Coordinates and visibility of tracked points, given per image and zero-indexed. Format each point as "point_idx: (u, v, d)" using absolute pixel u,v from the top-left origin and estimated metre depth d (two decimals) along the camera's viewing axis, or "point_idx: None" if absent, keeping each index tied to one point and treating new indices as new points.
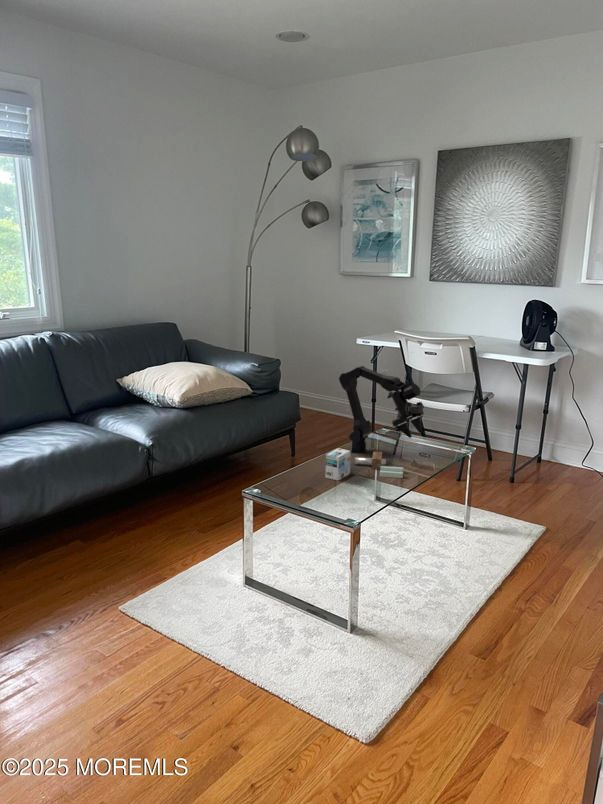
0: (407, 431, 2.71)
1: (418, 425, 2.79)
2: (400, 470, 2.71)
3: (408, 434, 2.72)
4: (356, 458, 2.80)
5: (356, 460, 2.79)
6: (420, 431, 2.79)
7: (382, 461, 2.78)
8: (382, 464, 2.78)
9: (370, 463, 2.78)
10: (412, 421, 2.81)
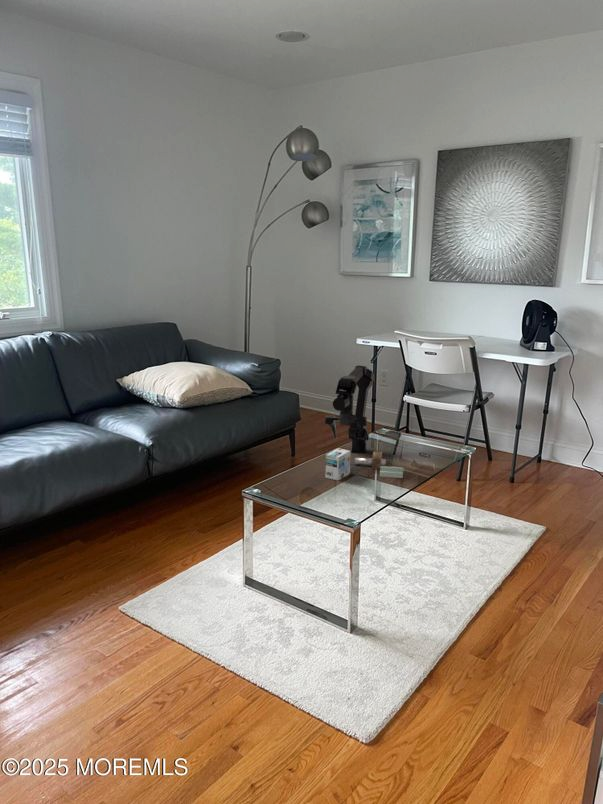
0: (333, 431, 2.79)
1: (356, 431, 2.77)
2: (400, 470, 2.71)
3: (334, 434, 2.79)
4: (356, 459, 2.79)
5: (356, 461, 2.79)
6: (355, 437, 2.78)
7: (382, 462, 2.77)
8: (382, 465, 2.77)
9: (370, 464, 2.78)
10: None
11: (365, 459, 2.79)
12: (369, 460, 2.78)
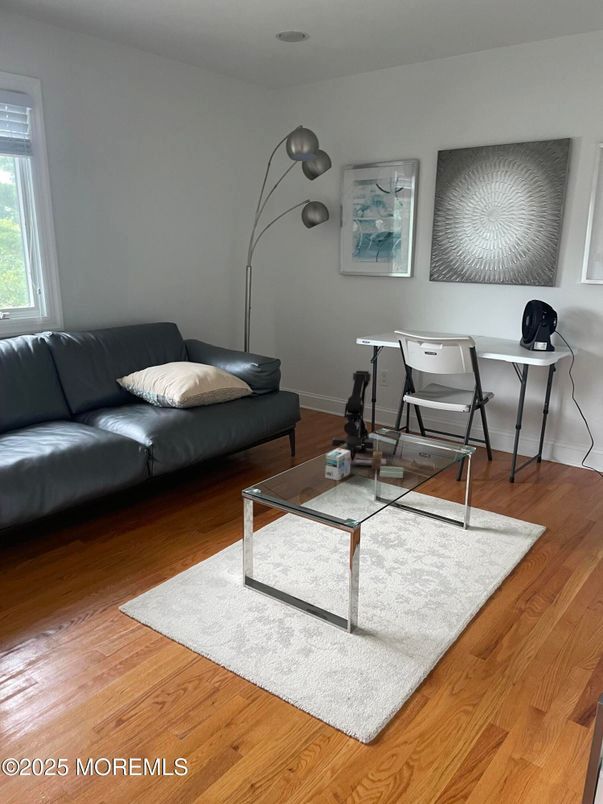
0: None
1: (353, 453, 2.80)
2: (400, 470, 2.71)
3: (350, 456, 2.81)
4: (356, 458, 2.80)
5: (356, 461, 2.79)
6: None
7: (382, 462, 2.77)
8: (382, 464, 2.77)
9: (370, 463, 2.78)
10: None
11: (365, 458, 2.79)
12: (369, 459, 2.79)
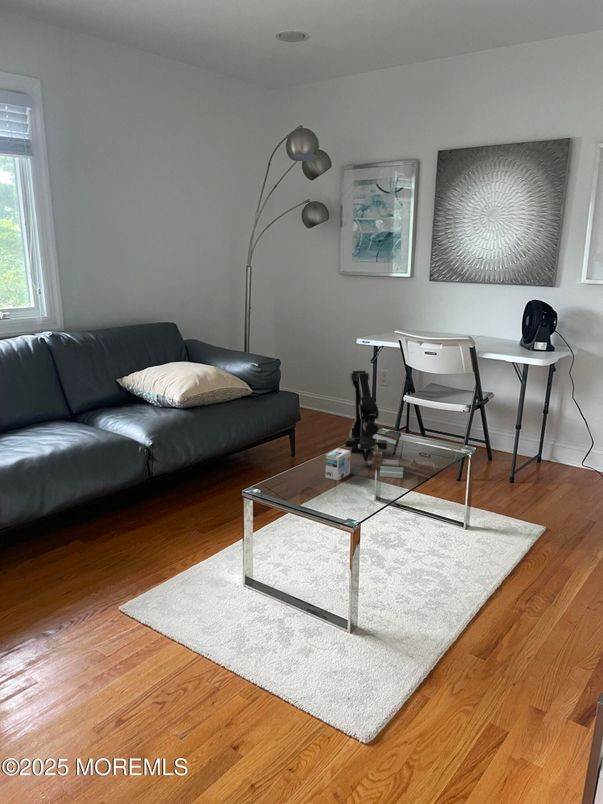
0: (363, 455, 2.79)
1: None
2: (400, 470, 2.71)
3: None
4: (369, 460, 2.79)
5: (369, 462, 2.78)
6: None
7: (395, 463, 2.76)
8: (395, 466, 2.76)
9: (383, 465, 2.77)
10: None
11: None
12: (382, 461, 2.78)
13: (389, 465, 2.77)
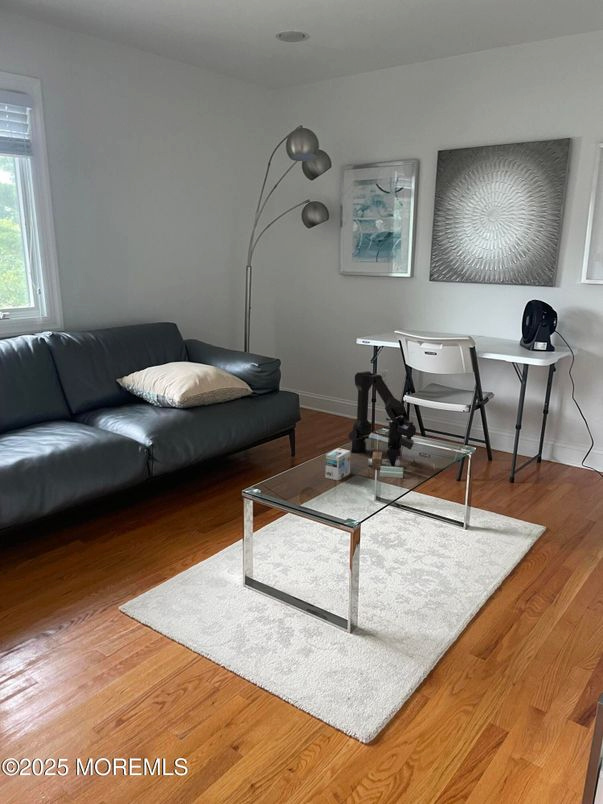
0: (394, 460, 2.74)
1: None
2: (400, 470, 2.71)
3: (393, 463, 2.75)
4: (369, 461, 2.78)
5: (369, 463, 2.78)
6: None
7: (396, 464, 2.76)
8: None
9: None
10: None
11: None
12: (383, 461, 2.77)
13: (389, 466, 2.77)
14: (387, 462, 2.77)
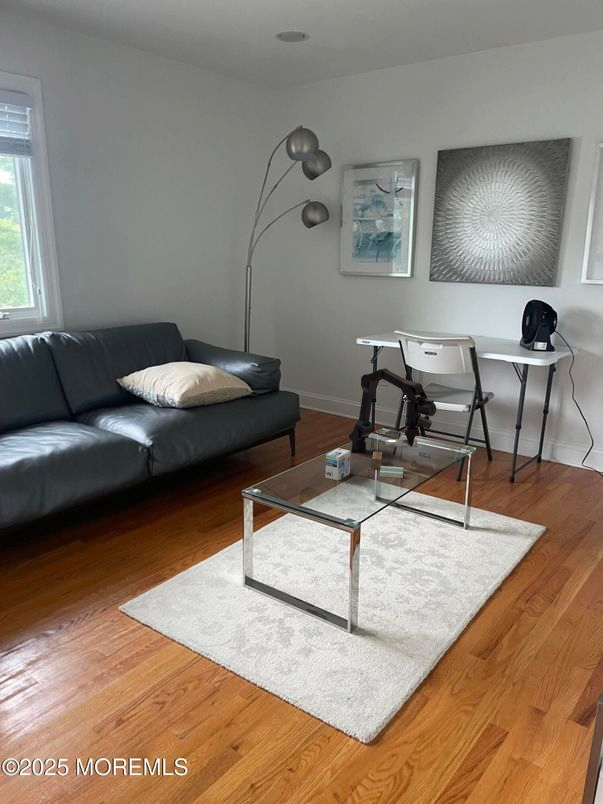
0: (412, 440, 2.70)
1: None
2: (400, 470, 2.71)
3: (411, 443, 2.71)
4: (386, 440, 2.75)
5: (387, 442, 2.74)
6: None
7: (413, 442, 2.72)
8: (413, 445, 2.72)
9: (401, 444, 2.73)
10: None
11: (396, 440, 2.74)
12: (400, 440, 2.74)
13: (407, 444, 2.73)
14: (404, 440, 2.73)
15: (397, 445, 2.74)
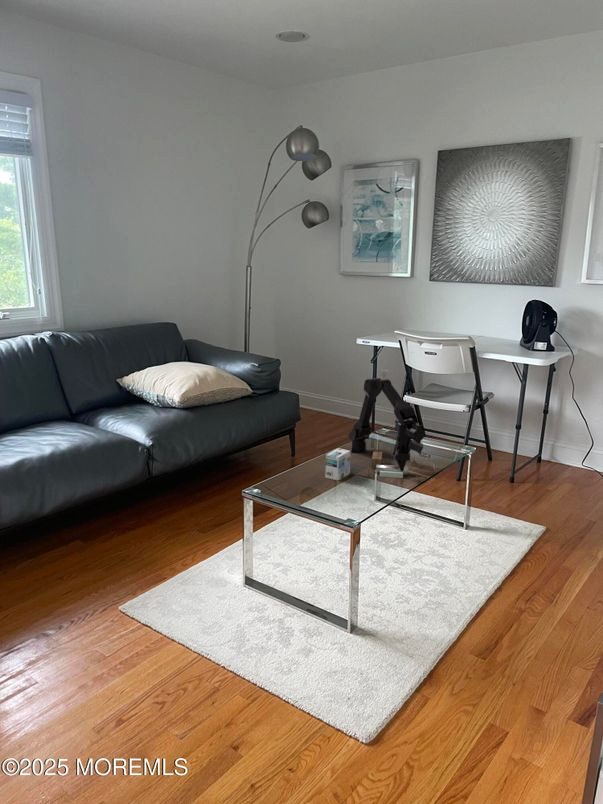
0: (403, 465, 2.64)
1: None
2: None
3: (402, 468, 2.64)
4: (378, 465, 2.69)
5: (378, 468, 2.69)
6: None
7: (405, 469, 2.67)
8: (405, 472, 2.67)
9: (392, 471, 2.68)
10: None
11: (387, 465, 2.69)
12: (391, 466, 2.68)
13: (398, 471, 2.67)
14: (396, 467, 2.68)
15: None
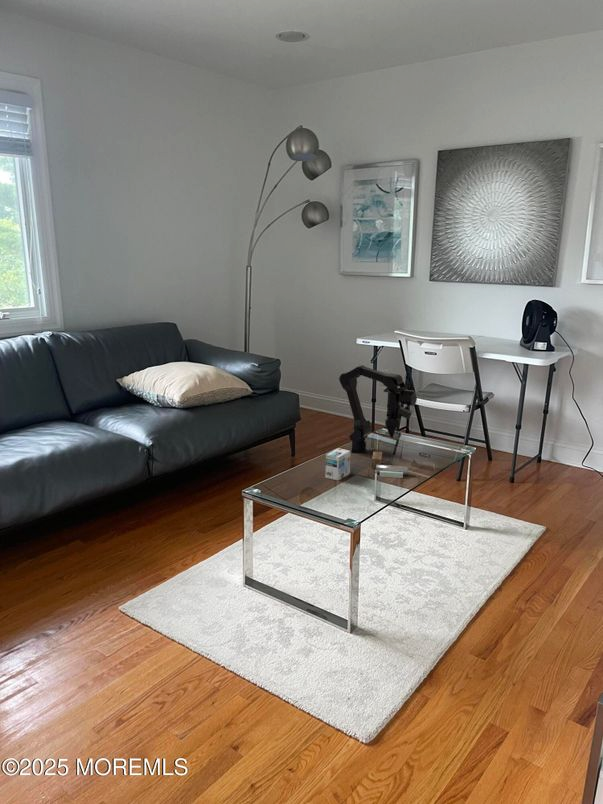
0: (393, 431, 2.79)
1: None
2: None
3: (391, 434, 2.80)
4: (377, 466, 2.69)
5: (378, 468, 2.69)
6: None
7: (405, 469, 2.67)
8: (405, 472, 2.67)
9: (392, 471, 2.68)
10: None
11: (387, 466, 2.69)
12: (391, 467, 2.68)
13: (398, 471, 2.67)
14: (396, 467, 2.68)
15: None
